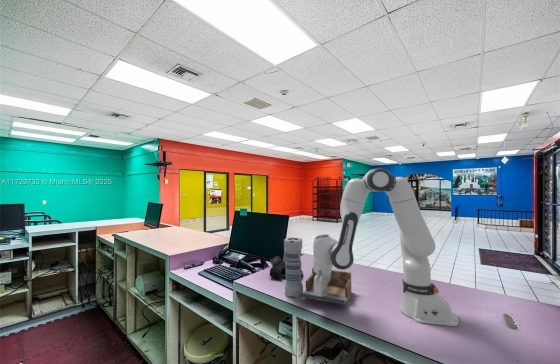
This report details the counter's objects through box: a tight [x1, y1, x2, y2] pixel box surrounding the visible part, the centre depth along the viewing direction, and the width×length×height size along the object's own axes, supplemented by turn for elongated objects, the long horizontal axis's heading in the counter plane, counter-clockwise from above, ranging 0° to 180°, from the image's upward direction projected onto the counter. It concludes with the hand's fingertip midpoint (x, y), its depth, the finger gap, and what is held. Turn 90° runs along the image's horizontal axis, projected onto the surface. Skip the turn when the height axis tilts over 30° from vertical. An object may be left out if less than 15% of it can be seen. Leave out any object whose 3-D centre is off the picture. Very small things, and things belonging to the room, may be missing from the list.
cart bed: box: [305, 267, 352, 305], centre depth 132 cm, size 22×14×11 cm, turn 66°
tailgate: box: [299, 290, 347, 305], centre depth 121 cm, size 22×2×9 cm
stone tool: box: [503, 313, 518, 330], centre depth 104 cm, size 14×1×5 cm
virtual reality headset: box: [269, 255, 304, 281], centre depth 160 cm, size 19×22×10 cm
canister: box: [283, 236, 304, 298], centre depth 134 cm, size 10×10×30 cm
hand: (323, 295), depth 121 cm, fingers closed
